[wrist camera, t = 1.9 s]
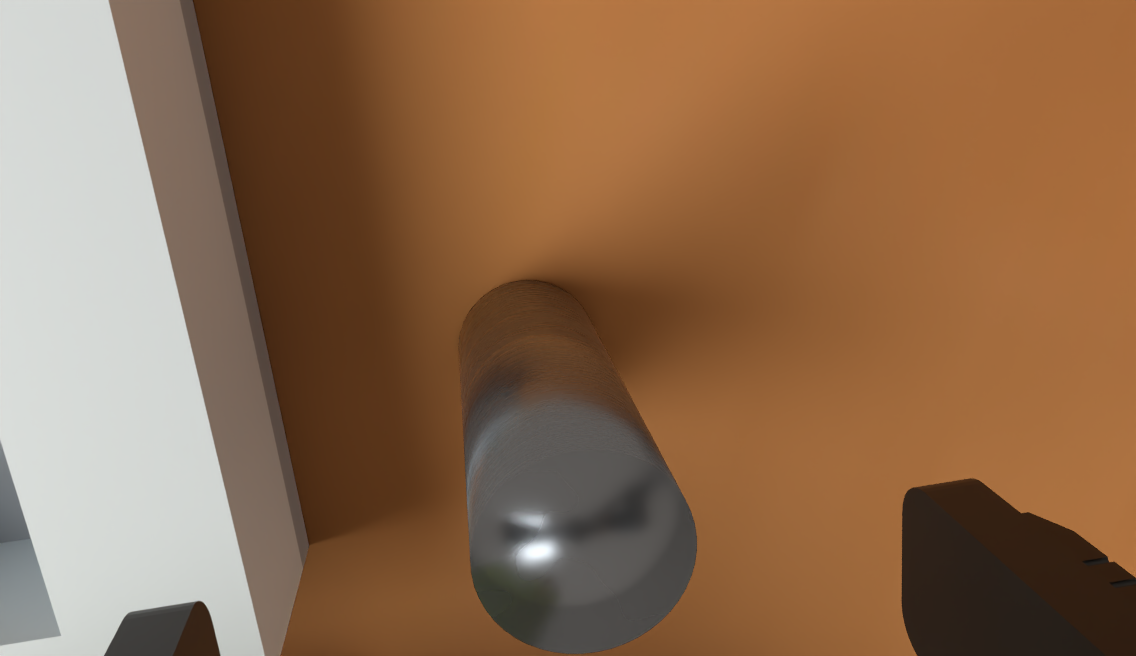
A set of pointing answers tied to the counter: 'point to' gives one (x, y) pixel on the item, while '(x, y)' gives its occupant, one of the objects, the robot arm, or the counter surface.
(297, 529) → the bore block
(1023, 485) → the counter surface
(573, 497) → the pin
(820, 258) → the counter surface
